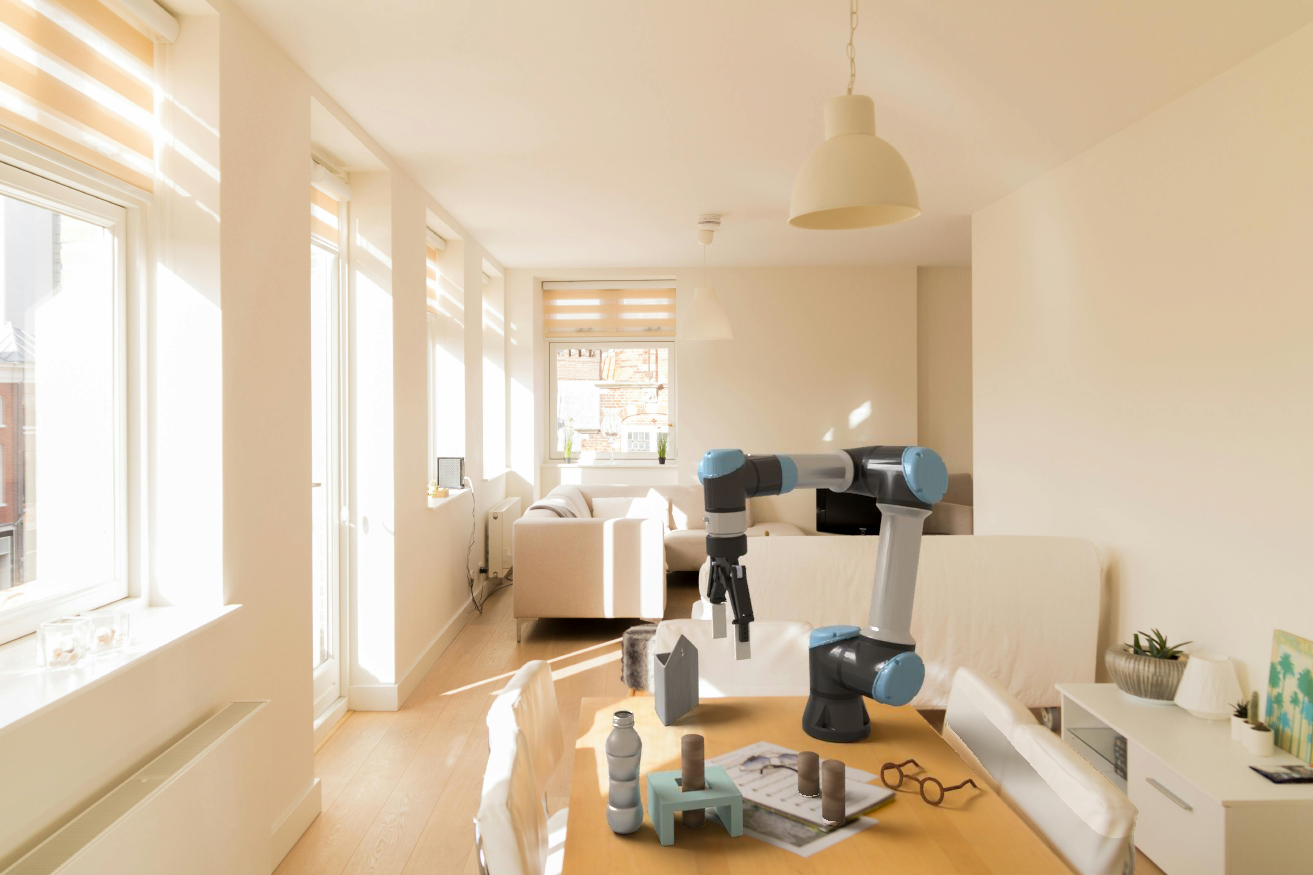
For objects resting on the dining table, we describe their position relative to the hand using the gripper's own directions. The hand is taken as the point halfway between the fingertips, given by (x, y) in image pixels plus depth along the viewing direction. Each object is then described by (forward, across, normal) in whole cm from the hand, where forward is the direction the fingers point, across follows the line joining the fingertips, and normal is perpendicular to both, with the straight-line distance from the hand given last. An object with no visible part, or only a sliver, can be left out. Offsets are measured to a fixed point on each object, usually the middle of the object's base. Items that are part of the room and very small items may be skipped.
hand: (730, 647), depth 150 cm
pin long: (+28, +7, -10) cm, 30 cm away
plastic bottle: (+28, +6, -22) cm, 36 cm away
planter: (+29, -46, -2) cm, 54 cm away
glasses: (+30, +4, +37) cm, 48 cm away
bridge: (+28, +7, -10) cm, 30 cm away
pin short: (+29, +1, +14) cm, 32 cm away
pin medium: (+29, +12, +14) cm, 34 cm away
